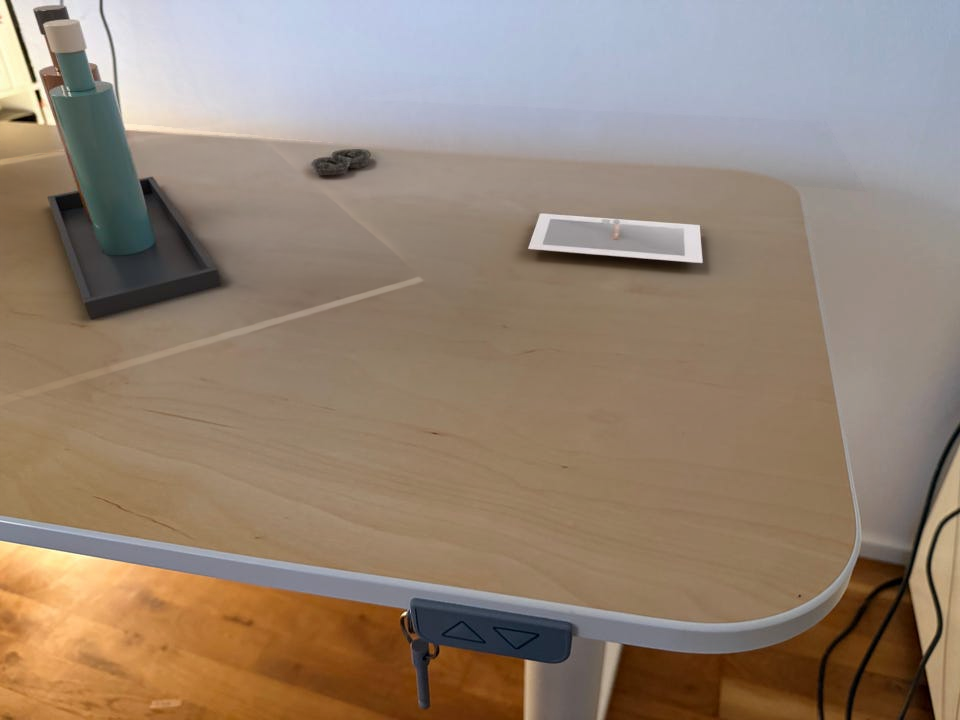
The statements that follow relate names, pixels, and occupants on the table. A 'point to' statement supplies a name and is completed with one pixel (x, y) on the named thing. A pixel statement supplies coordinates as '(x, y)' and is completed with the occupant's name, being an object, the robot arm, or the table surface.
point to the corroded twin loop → (341, 161)
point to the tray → (133, 257)
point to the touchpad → (618, 238)
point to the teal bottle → (98, 146)
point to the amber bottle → (58, 74)
